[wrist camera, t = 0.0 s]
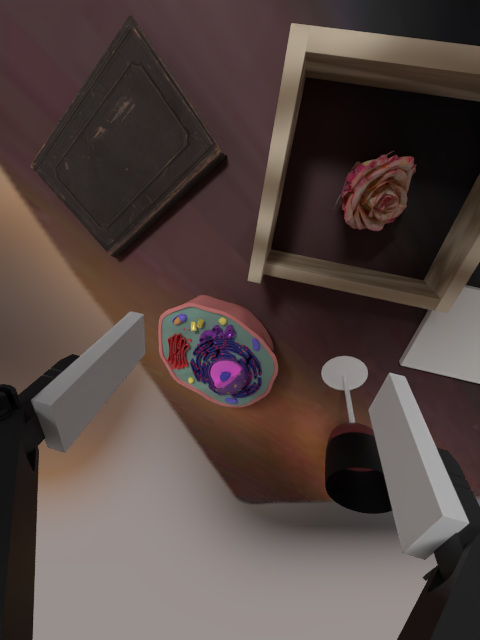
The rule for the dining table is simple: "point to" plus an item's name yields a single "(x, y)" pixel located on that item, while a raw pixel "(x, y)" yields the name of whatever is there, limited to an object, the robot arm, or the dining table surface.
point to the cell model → (218, 351)
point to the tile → (449, 340)
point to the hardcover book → (126, 144)
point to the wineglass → (353, 448)
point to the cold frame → (385, 72)
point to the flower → (376, 191)
